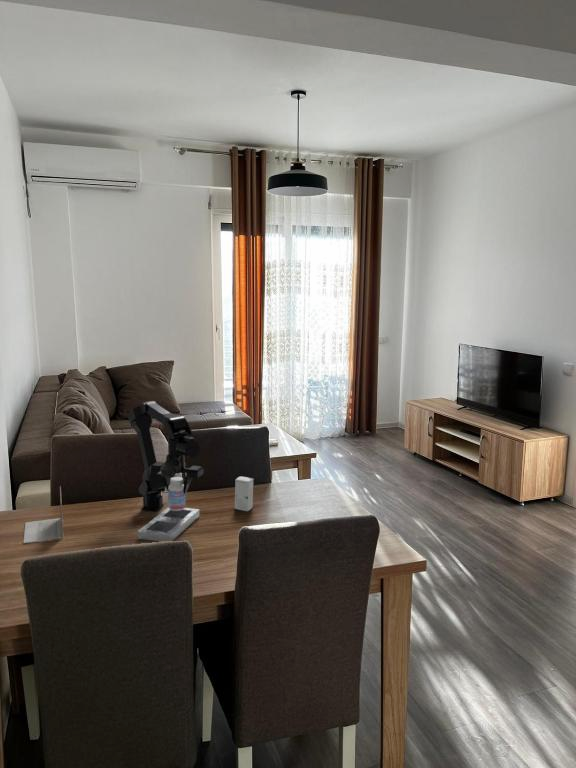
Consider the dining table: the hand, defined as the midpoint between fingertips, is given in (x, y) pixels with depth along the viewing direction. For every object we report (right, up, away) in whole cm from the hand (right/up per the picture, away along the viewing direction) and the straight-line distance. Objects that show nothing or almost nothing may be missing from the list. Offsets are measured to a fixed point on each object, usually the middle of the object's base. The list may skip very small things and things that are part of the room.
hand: (176, 492), depth 211 cm
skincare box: (+23, -9, +15) cm, 29 cm away
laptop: (-45, -13, -8) cm, 47 cm away
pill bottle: (0, -6, +1) cm, 6 cm away
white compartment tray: (-2, -12, -4) cm, 13 cm away
